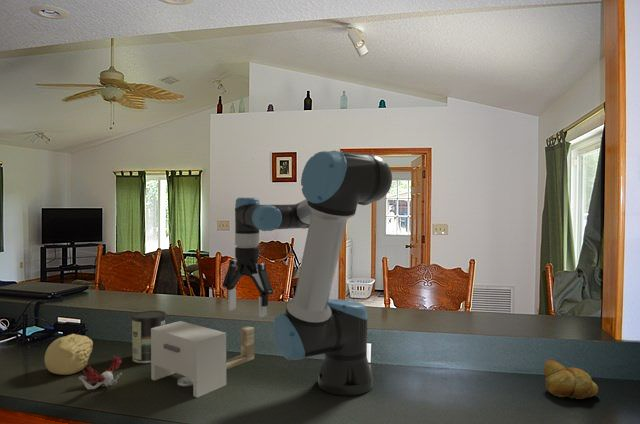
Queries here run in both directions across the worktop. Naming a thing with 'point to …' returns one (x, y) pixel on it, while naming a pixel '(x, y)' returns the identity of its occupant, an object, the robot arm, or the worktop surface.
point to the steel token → (185, 381)
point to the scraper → (243, 348)
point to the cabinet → (189, 355)
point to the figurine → (104, 377)
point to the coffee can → (144, 333)
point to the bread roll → (568, 381)
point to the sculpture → (68, 354)
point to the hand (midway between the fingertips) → (247, 312)
